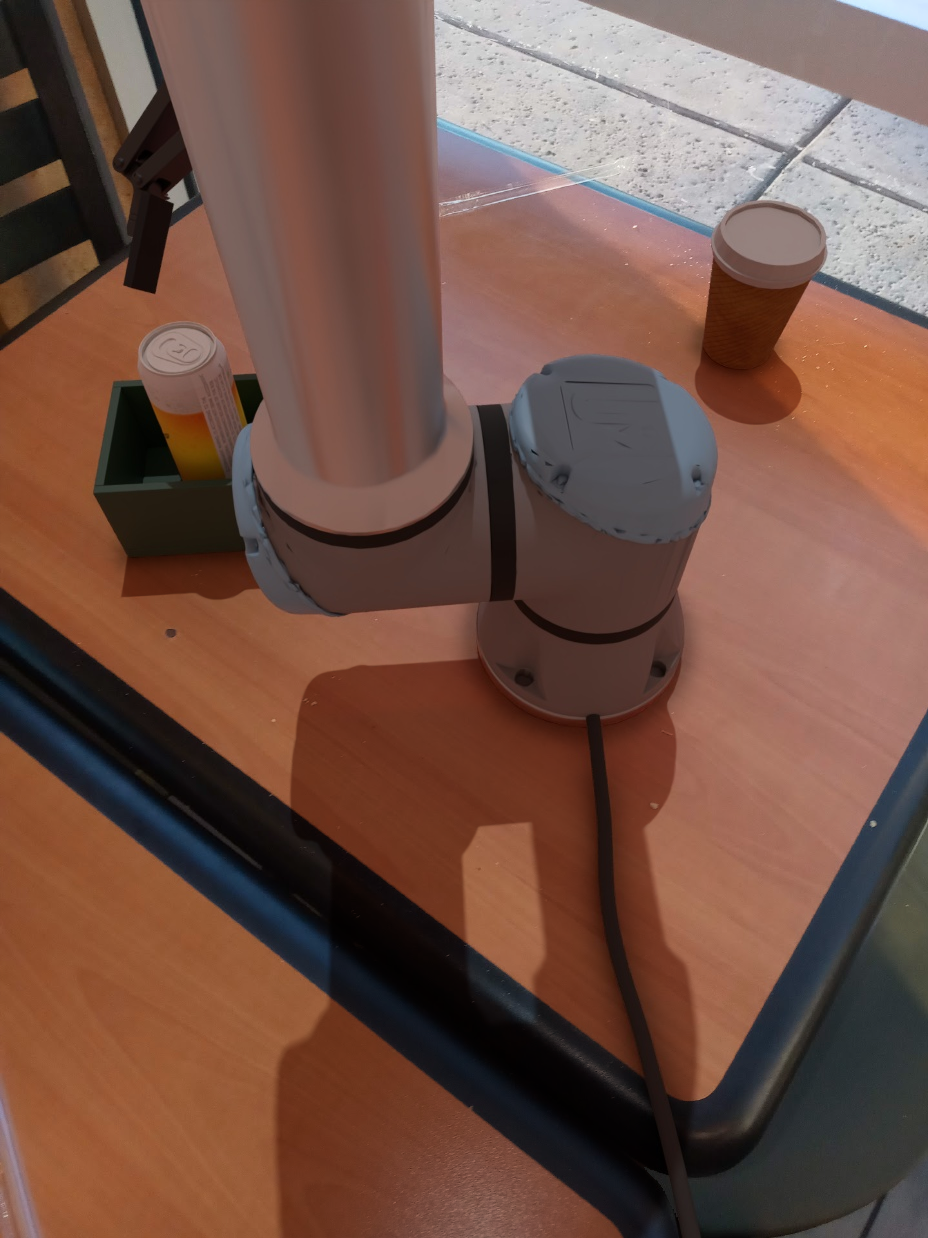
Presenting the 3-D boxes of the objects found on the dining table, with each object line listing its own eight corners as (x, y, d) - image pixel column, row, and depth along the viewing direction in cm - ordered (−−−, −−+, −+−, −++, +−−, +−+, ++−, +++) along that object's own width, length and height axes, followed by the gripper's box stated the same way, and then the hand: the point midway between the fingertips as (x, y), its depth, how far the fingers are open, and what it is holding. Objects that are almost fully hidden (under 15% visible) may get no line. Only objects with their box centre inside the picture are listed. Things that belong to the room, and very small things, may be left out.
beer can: (221, 451, 77) (172, 306, 64) (279, 479, 75) (240, 336, 62) (174, 499, 74) (113, 358, 61) (233, 529, 72) (183, 391, 60)
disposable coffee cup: (810, 354, 84) (857, 240, 74) (734, 397, 81) (772, 284, 71) (738, 298, 88) (774, 182, 78) (663, 336, 85) (690, 222, 75)
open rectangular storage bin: (321, 546, 73) (306, 480, 66) (127, 557, 72) (92, 493, 65) (323, 439, 79) (309, 369, 72) (144, 450, 78) (113, 380, 71)
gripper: (483, 54, 60) (392, 374, 65) (169, -23, 65) (111, 277, 71) (445, 1, 53) (347, 364, 58) (97, -80, 58) (39, 258, 64)
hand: (217, 317), depth 65 cm, fingers open, 13 cm apart
